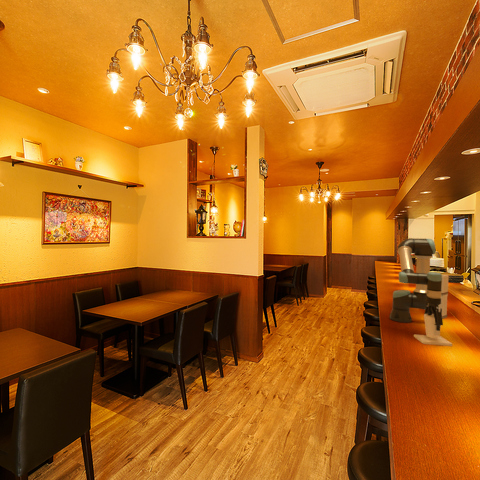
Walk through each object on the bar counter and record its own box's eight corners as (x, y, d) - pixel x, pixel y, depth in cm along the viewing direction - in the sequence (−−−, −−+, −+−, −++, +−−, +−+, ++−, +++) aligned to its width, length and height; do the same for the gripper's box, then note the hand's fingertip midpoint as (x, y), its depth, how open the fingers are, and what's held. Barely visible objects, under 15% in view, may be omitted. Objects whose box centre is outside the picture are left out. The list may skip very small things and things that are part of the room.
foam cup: (444, 340, 164) (445, 318, 164) (427, 338, 166) (428, 317, 166) (436, 334, 174) (437, 314, 173) (420, 333, 176) (421, 313, 175)
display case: (447, 317, 224) (448, 275, 223) (441, 319, 218) (443, 276, 217) (431, 313, 233) (432, 273, 233) (425, 315, 227) (427, 274, 227)
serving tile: (413, 336, 177) (413, 334, 177) (440, 338, 175) (440, 336, 175) (423, 343, 165) (423, 341, 165) (452, 346, 163) (452, 343, 163)
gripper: (418, 293, 181) (417, 326, 181) (437, 300, 159) (435, 338, 160) (430, 293, 180) (429, 327, 180) (451, 301, 158) (449, 339, 158)
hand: (432, 332), depth 170 cm, fingers closed on foam cup, 9 cm apart
